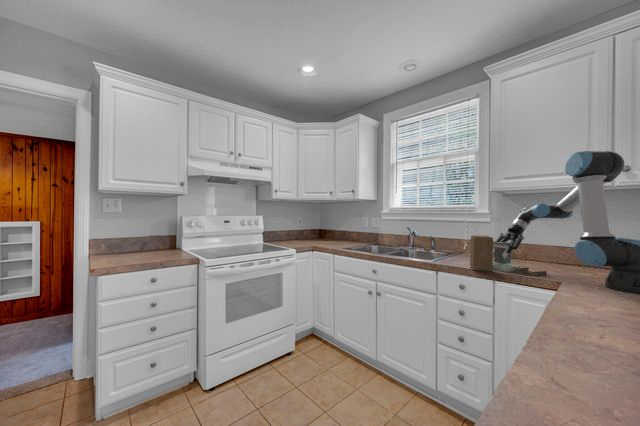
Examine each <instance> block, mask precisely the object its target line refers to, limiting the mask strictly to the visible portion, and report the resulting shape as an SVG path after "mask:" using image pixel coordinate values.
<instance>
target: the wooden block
mask: <svg viewBox="0 0 640 426" xmlns="http://www.w3.org/2000/svg"><path fill="white" fill-rule="evenodd" d="M493 243H494V238H493V237H492V236H489V235H474V234H473V235H471V236H470V251H469V252H470V253H469V254H470V255H469V256H470V257H469V258H470V261H469V264H470V265H469V266H470V268H471V269H472V270H473V271H475V272H476V271H477V272H478V271H479V272H489V273H490V272H492V271H493V270H494V269H493V263H494V262H493V261H494V256H493V249H494V244H493Z"/></svg>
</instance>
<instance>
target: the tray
mask: <svg viewBox="0 0 640 426" xmlns="http://www.w3.org/2000/svg"><path fill="white" fill-rule="evenodd" d="M515 268H521V266H520V265H516V264H512V263H508V264H501V263H497V262H493V270H495V271H499V272H502V273H503V272H504V273H508V272H515Z"/></svg>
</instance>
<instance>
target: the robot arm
mask: <svg viewBox="0 0 640 426" xmlns="http://www.w3.org/2000/svg"><path fill="white" fill-rule="evenodd" d="M624 167H625V160H624V158H623V157H622V155H620V154H619V153H617V152H614V151H609V150H608V151H607V150H606V151H600V150H599V151H595V150H594V151H592V150H591V151H589V150H584V151H577V152H574V153H573V154H571V155H570V156H569V157H568V159H567V160H566V161H565V165H564V172H565V173H566V174H567V175H568V176H570V177H572V182H573V183H575V184H576V185H577V186H575V187H574V188H573V189H572V190H571V191H570V192H568V193H567V194H566V195H565V196H564V197H563V198H561V200H560V201H558V202H557V203H556V204H555V205H548V204H546V203H543V202H541V203H537V204H535V205H533V206H531V207H530V206H528V207H527V206H525V207H523V208H522V209H521V210H520V212H519V213H518V215H517V216H516V218H515V219H514V220H513V222H512V223H511V225H510V226H508V230H507V231H506V232H505V233H503V232H500V235H499V236H497V239H496V240H495V241H493V245H494V243H495V242H505V243H507V242H509V241H510V242H509V243H510V246H509V247H507V248H506V250H505V251H504V253H503V254H502V256H503V257H504V258H506V257H507V255H508V254H509V253H510V252H511V253H512V251H514V250H517V249H519V246H520V245H521V243H522V241H523V240H525V237H524V235H523V233H524V232H525V230H526V229H527V228H528V226H529V225H530V223H532V221H535V220H538V219H561V220H562V219H569V218H571V217H572V215H573V213H574V212H573V211H574V209H576V208H577V207H578V206H580V215H581V221H582V228H583V234H581V235H580V236H579V241H577V242H576V243H575V245H574V253H575V254H574V255H575V256H576V258H577V259H578V260H579V261H580V262H581V263H583V264H584V265H587V266H593V267H610V271H609V273H608V275H607V276H606V279H605V281H604V286H605V287H606V288H608V289H612V290H615V291H619V292H620V291H621V292H627V293H632V294H640V240H639V239H635V238H634V239H632V238H625V237H616V236H615V235H614V234H612V233H611V231H610V226H609V219H608V212H607V211H608V210H607V204H606V196H605V189H604V185H606V183H611V182H613V181H614V180H616V179H617V178H618V177H619V175H621V173H622V172H623V171H624ZM493 257H494V248H493Z"/></svg>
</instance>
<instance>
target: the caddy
mask: <svg viewBox="0 0 640 426" xmlns="http://www.w3.org/2000/svg"><path fill="white" fill-rule="evenodd" d="M494 242H495V241H494ZM494 242H493V243H494ZM509 246H510V242H495V243H494V244H493V249H494V256H493V261H494V262H493V263H501V264H512V262H511V260H512V258H511V257H512V256H511V255H512V251H511V252H510V253H509V254H508V255H507V257H506V258H504V257H503V256H502V254H503V253H504V251H505V250H506V248H507V247H509Z"/></svg>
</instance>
